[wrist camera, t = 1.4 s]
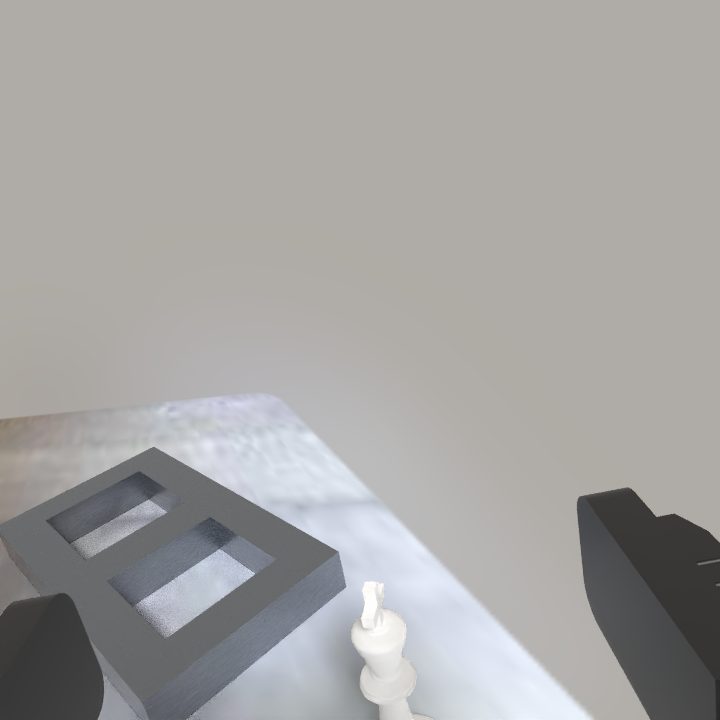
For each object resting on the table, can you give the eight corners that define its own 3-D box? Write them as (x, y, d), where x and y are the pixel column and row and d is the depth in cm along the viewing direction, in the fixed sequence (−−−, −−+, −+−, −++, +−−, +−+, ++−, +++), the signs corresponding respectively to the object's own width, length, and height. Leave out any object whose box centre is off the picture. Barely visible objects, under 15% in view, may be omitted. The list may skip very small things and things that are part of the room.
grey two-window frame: (158, 741, 29) (142, 702, 28) (9, 555, 45) (-5, 526, 44) (346, 586, 36) (338, 551, 35) (162, 473, 52) (153, 446, 51)
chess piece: (333, 833, 24) (279, 637, 20) (363, 717, 29) (322, 537, 25) (463, 854, 23) (431, 648, 19) (473, 728, 27) (449, 541, 23)
